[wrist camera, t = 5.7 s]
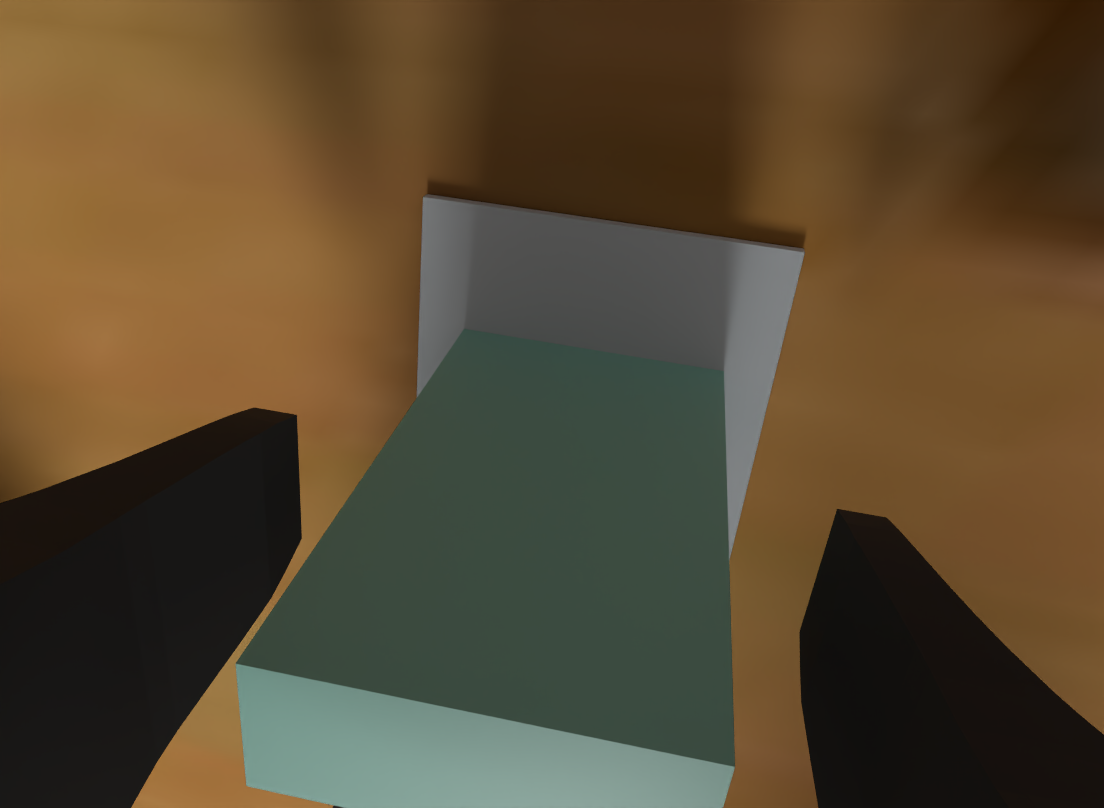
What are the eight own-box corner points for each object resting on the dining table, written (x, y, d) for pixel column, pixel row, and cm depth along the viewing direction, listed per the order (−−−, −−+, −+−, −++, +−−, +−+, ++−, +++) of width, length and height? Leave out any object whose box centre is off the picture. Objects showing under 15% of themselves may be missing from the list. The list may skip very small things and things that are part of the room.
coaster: (727, 559, 16) (728, 565, 16) (416, 502, 17) (413, 508, 17) (803, 248, 13) (804, 252, 13) (427, 193, 14) (423, 196, 14)
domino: (706, 453, 15) (699, 886, 8) (458, 411, 15) (247, 786, 8) (724, 371, 14) (734, 766, 7) (463, 328, 15) (235, 663, 8)
